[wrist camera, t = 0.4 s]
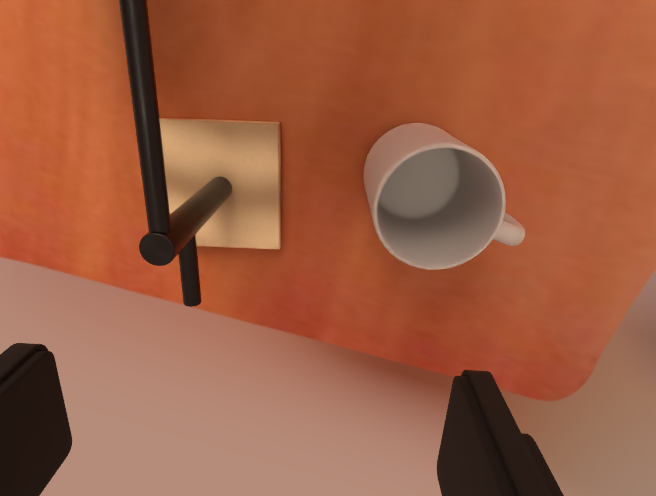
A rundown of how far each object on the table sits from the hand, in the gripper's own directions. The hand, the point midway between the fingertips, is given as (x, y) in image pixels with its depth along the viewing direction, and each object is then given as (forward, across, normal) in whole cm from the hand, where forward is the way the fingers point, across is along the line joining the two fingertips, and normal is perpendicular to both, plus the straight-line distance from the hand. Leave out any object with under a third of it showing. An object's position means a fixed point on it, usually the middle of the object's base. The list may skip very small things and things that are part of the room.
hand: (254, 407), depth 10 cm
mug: (+30, -10, +1) cm, 31 cm away
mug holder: (+30, +8, -1) cm, 31 cm away
